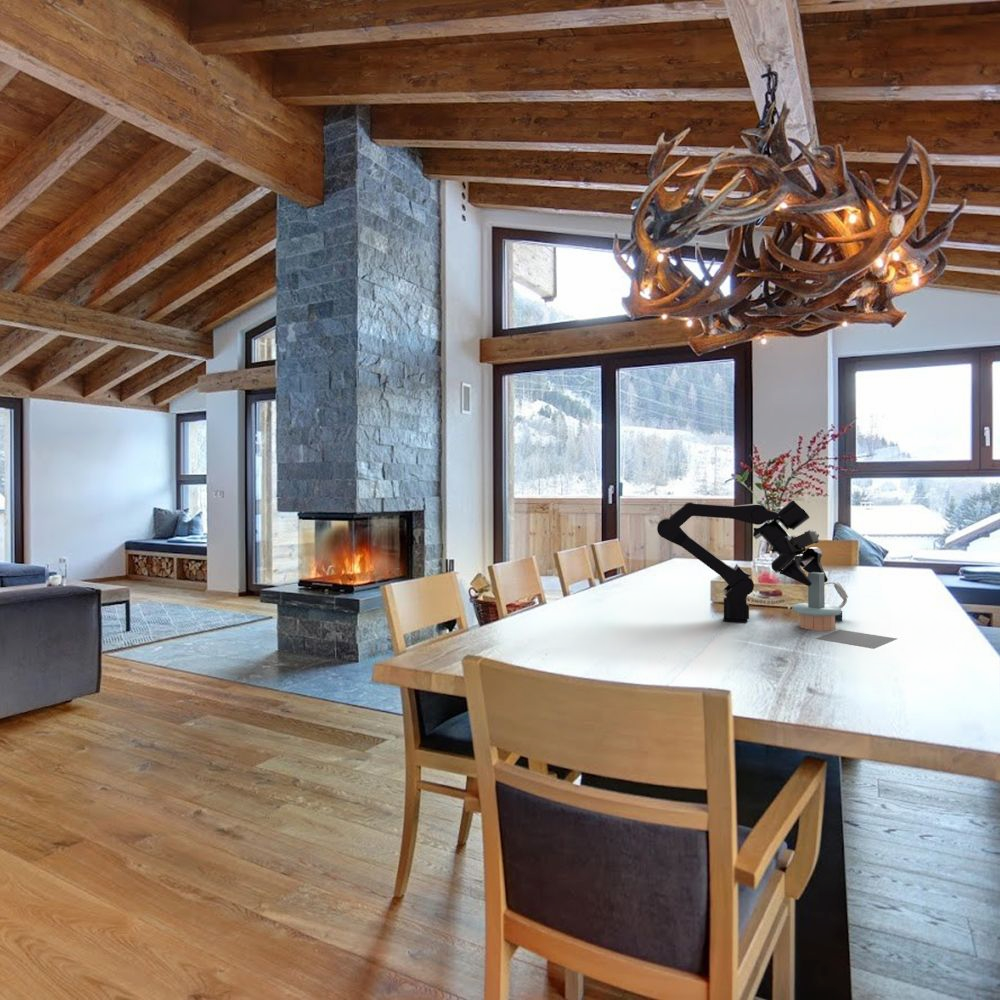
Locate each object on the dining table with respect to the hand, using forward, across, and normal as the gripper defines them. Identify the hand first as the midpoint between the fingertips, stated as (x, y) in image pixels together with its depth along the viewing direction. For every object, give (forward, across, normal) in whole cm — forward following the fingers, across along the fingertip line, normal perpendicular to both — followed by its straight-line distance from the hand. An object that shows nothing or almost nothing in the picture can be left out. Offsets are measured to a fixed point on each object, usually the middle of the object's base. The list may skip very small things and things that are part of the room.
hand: (818, 583), depth 182 cm
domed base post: (+5, 0, +6) cm, 8 cm away
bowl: (+8, 0, +9) cm, 12 cm away
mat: (+17, -6, 0) cm, 18 cm away
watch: (+7, +13, +10) cm, 18 cm away
